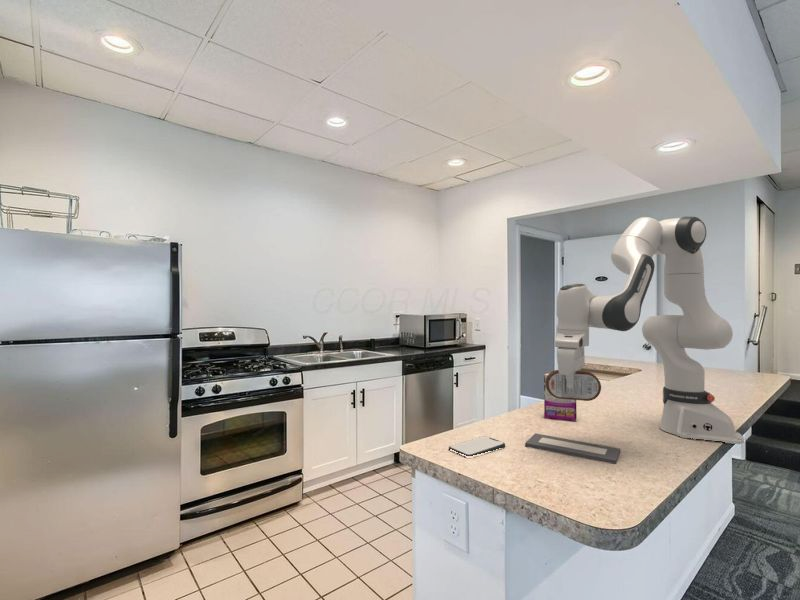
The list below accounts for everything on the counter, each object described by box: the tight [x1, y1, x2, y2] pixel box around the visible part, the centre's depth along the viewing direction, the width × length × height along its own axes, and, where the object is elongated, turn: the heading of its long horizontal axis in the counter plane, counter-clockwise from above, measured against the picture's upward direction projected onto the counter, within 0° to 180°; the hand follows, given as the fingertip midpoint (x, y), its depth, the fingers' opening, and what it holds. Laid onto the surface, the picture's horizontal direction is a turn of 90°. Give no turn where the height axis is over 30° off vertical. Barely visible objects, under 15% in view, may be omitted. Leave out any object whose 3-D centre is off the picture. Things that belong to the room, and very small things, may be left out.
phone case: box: [448, 435, 506, 456], centre depth 119 cm, size 9×2×16 cm
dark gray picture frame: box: [524, 432, 621, 465], centre depth 119 cm, size 24×11×1 cm, turn 57°
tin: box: [545, 369, 602, 402], centre depth 119 cm, size 15×3×8 cm, turn 75°
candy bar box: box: [543, 372, 578, 422], centre depth 151 cm, size 11×5×16 cm, turn 68°
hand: (572, 386), depth 119 cm, fingers closed on tin, 3 cm apart
